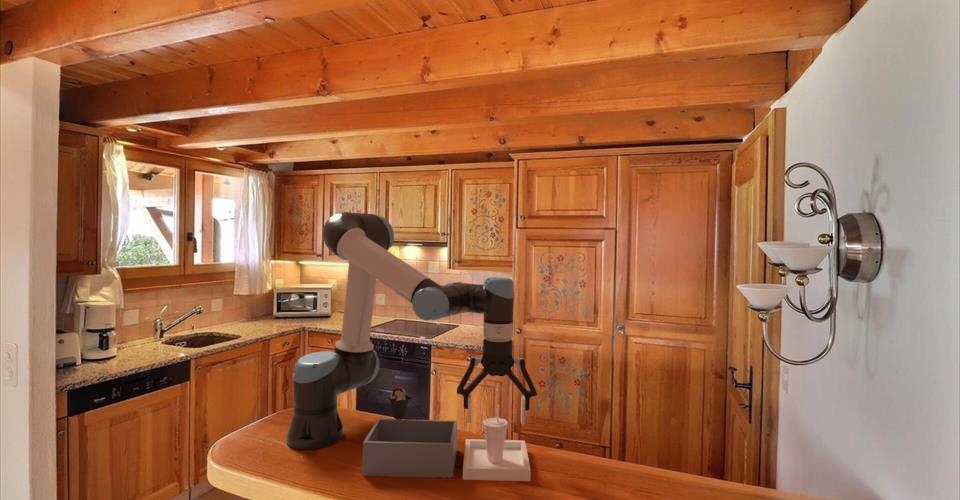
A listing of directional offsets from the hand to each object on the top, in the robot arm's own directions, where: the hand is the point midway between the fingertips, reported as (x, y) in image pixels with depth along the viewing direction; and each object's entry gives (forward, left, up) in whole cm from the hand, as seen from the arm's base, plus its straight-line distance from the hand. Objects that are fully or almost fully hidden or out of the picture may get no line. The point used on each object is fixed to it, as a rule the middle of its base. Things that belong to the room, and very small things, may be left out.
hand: (495, 422), depth 115 cm
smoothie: (0, 0, -10) cm, 10 cm away
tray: (0, 0, -11) cm, 11 cm away
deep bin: (-15, -15, -11) cm, 24 cm away
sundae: (-33, -7, -11) cm, 35 cm away
